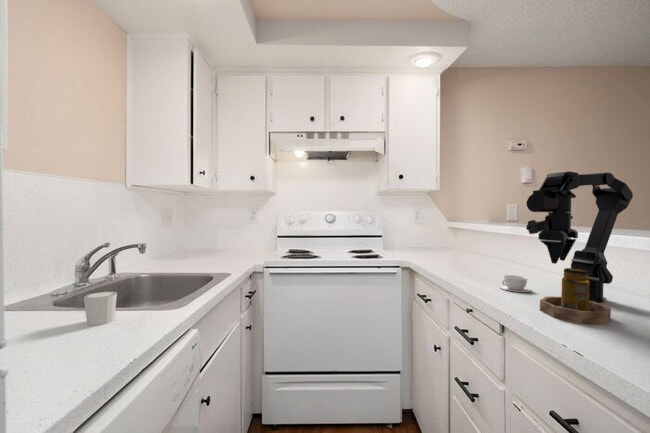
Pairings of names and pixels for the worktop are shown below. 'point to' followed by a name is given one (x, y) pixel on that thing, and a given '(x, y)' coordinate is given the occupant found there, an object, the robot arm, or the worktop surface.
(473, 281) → the worktop surface
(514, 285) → the teacup
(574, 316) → the ring seat
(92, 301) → the shot glass
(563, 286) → the condiment
